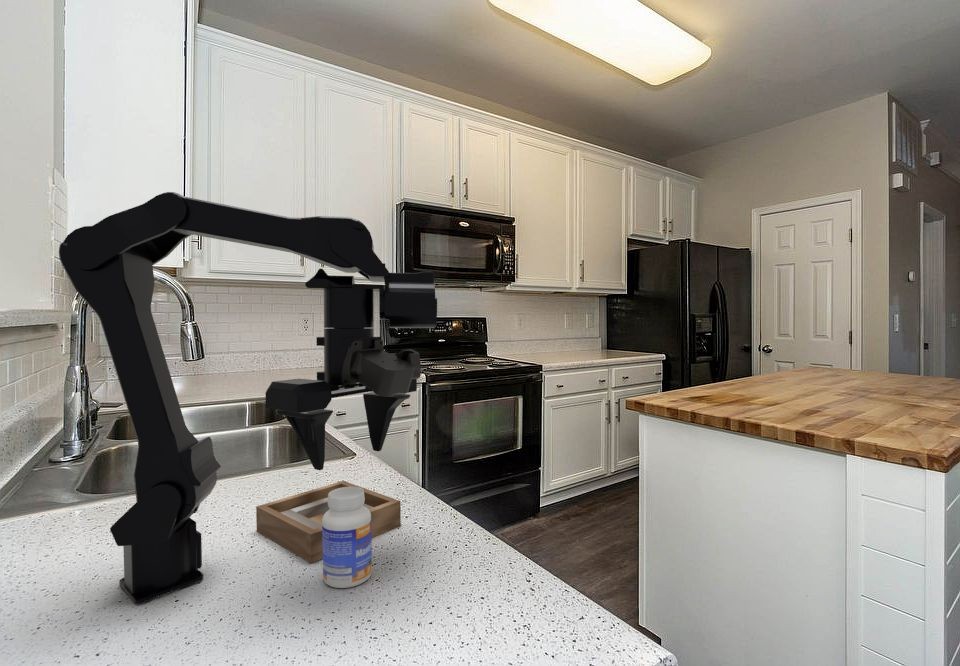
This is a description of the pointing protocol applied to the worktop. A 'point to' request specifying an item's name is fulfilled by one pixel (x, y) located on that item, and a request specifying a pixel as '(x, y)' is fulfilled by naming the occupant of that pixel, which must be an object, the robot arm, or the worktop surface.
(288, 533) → the walnut box
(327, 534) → the pill bottle
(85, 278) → the robot arm
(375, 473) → the worktop surface
